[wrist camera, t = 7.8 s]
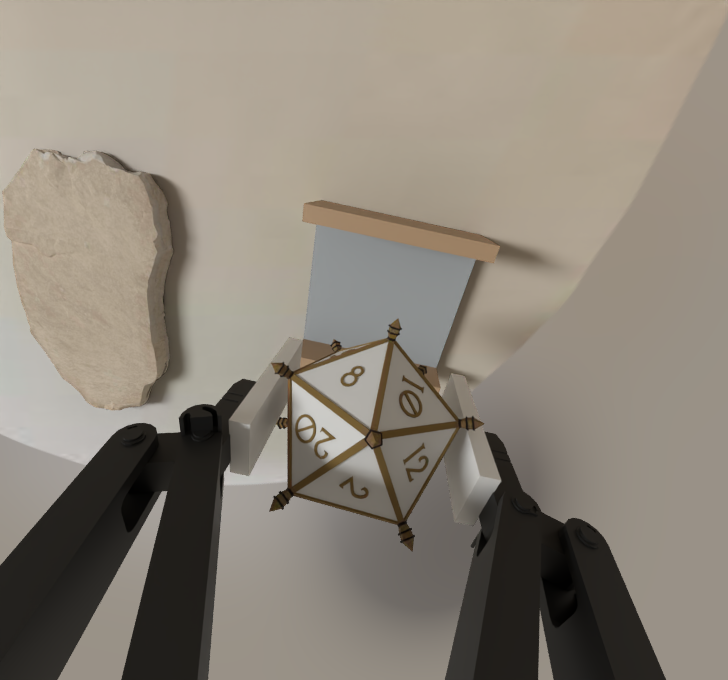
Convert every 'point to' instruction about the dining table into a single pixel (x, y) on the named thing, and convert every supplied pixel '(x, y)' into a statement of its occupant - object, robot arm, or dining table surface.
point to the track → (385, 281)
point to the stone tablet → (92, 271)
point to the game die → (365, 431)
